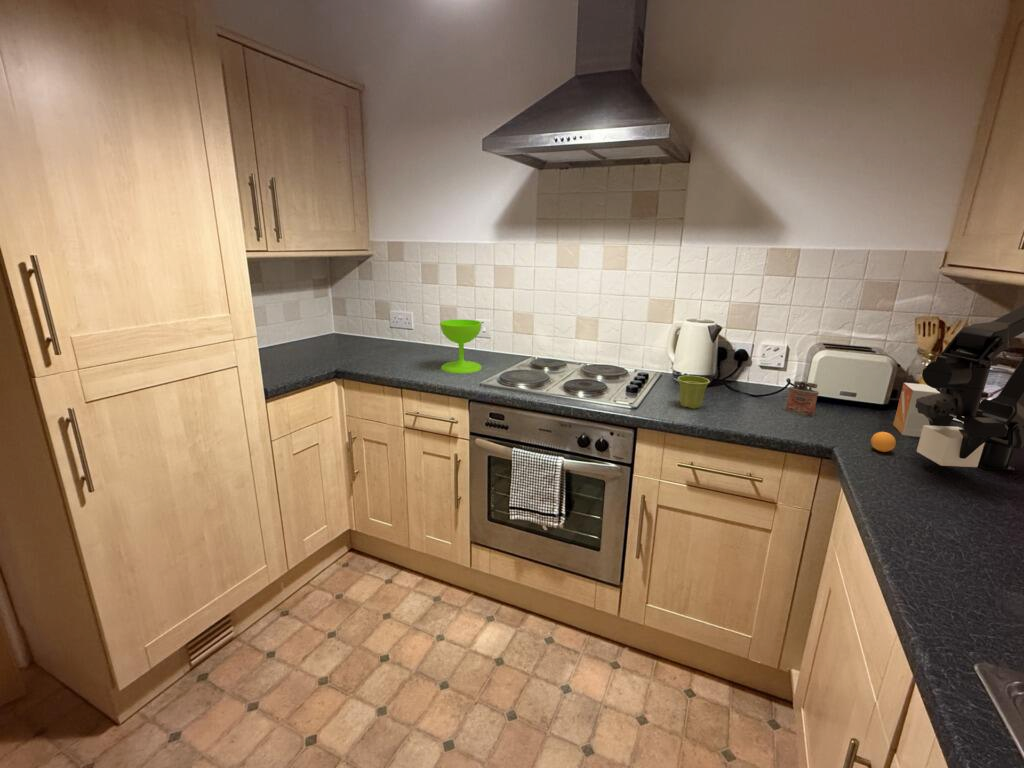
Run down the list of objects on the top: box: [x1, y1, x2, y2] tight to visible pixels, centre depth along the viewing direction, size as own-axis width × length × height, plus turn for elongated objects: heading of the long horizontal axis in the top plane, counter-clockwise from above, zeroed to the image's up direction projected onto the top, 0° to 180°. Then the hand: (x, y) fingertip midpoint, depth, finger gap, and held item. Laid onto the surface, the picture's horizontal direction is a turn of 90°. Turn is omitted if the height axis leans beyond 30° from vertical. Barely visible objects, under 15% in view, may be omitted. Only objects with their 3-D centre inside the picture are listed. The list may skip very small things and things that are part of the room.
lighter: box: [784, 380, 820, 417], centre depth 153 cm, size 8×3×10 cm, turn 47°
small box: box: [892, 382, 941, 438], centre depth 139 cm, size 8×6×13 cm
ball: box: [870, 431, 897, 453], centre depth 127 cm, size 5×5×5 cm
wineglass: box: [439, 318, 483, 374], centre depth 197 cm, size 16×16×18 cm
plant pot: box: [677, 375, 711, 409], centre depth 158 cm, size 9×9×9 cm
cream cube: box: [916, 425, 985, 468], centre depth 114 cm, size 8×8×7 cm
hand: (948, 450), depth 115 cm, fingers closed on cream cube, 8 cm apart
